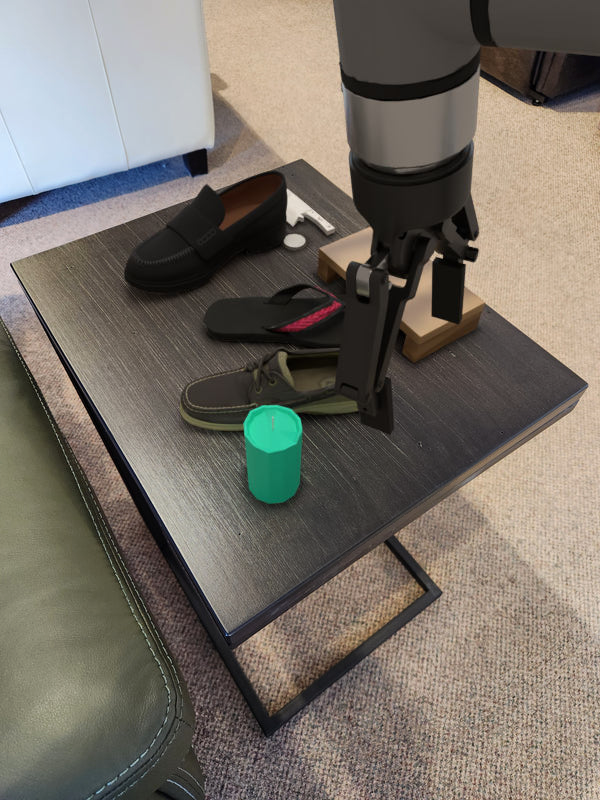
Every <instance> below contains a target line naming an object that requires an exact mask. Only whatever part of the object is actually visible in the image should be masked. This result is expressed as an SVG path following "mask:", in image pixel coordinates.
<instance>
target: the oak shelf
mask: <svg viewBox="0 0 600 800" xmlns="http://www.w3.org/2000/svg"><path fill="white" fill-rule="evenodd" d="M372 235H373V230H372V228H371V226H369V227H366V228H363V229H361V230H359V231H356V232H354V233H351V234H349V235H347V236H345V237H342V238H340V239H338V240H335V241H333V242H330V243H328V244H325V245H324V246H321V247H319V248H318V259H317V276H318V277H319V278H320V279H321V280H322V281H323V282H324V283H326V284H328V283H331V282H332V281H335V280H338V279H339V278H342V279H343V280H344V281H346V270H347V267H348V265H349V263H350V262H351V261H355V262H358V263H362V264H364V263H365V262H366V261H367V260H368V259H369V258H370V257H371V254H370V250H371V244H372ZM432 262H433V260H432V259H431V258H430V259H429V261H428V262H427V263H426V264H425V265H424V268H423V271H422V275H421V278H420V282H419V285H418V289H417V292H416V295H415V297H414V298H413V299H411V300H408V301H407V303H406V306H405V309H404V313H403V317H402V320H401V324H400V327H399V330H401V331H402V332H403V333H404V334H405V339H404V344H403V348H402V351H401V352H402V354H403V355H404V356H405V357H406V358H408V359H409V361H411V362H412V363H413V364H415V363H416V362H418V361H420V360H422V359H424V358H426V357H427V356H429V355H431V354H433V353H435V352H437V351H438V350H440V349H442V348H444V347H446V346H448V345H449V344H450V343H452V342H454V341H456V340H458V339H460V338H462V337H464V336H465V335H467V334H469V333H470V332H472V331H474V330H476V329H477V327H478V325H479V322H480V320H481V317H482V313H483V312H484V311H483V310H484V308H485V305H486V301H485V300H483V299H482V298H481V297H480V296H478V294H475V292H473V291H472V290H471V289H469V288H468V287H467V286H466V285H464V299H463V313H462V320H461V322H460V323H459V325H458V324H455V323H452V322H448V321H445V320H442V319H438V318H435V317H432V316H431V311H432ZM389 281H391V282H392V284H395V285H398V286H402V287H404V286H405V284H406V280H405V279H401V278H397V277H394V276H390V275H389Z"/></svg>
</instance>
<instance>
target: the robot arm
mask: <svg viewBox="0 0 600 800" xmlns="http://www.w3.org/2000/svg"><path fill="white" fill-rule="evenodd" d="M332 6H333V7H332V8H333V14H334V22H335V30H336V31H335V32H336V41H337V47H338V55H339V58H338V59H339V62H338V66H339V72H340V79H341V82H340V90H341V93H342V97H343V109H344V120H345V131H346V140H347V141H346V142H347V144H348V148H349V149H350V150H349V153H348V166H349V177H350V184H351V185H350V186H351V195H352V201H353V204H354V208H355V209H356V210H357V212H358V213H359V214H360V216H361V217H362V218H363V219H364V220H365V222H367V224H368V225H369V227H371V228H372V230H373V235H372V244H371V250H370V254H371V257H370V258H369V259H368V260H367V261H366V262H365V263H364V264H362V263H358V262H355V261H351V262H350V263H349V265H348V267H347V270H346V280H345V287H346V294H347V300H346V307H345V314H344V321H343V328H342V336H341V343H340V350H339V357H338V365H337V372H336V379H335V386H334V393H336V394H338V395H341V396H343V397H345V398H348V399H351V400H353V401H356V403H357V409H358V410H359V411H358V412H359V419H360V423H361V424H362V425H365V426H366V427H369V428H371V429H374V430H376V431H379V432H381V433H384V434H386V435H389V436H391V435H392V433H393V432H394V430H395V417H394V402H393V388H392V387H393V386H392V378H391V377H388V376H387V374H388V369H389V366H390V362H391V360H392V359H391V358H392V355H393V352H394V348H395V346H396V341H397V337H398V334H399V330H400V328H399V327H400V324H401V320H402V317H403V313H404V309H405V306H406V303H407V301H408V300H411V299H413V298H414V297H415V295H416V292H417V289H418V285H419V282H420V278H421V275H422V271H423V268H424V265H425V264H426V263H427V262H428V261H429V259H430V260H431V259H432V256H433V255H434V253H437V254H438V255H442V257H439V256H435V257H434V259H433V260H432V261H433V262H432V311H431V316H432V317H435V318H438V319H442V320H445V321H448V322H452V323H455V324H458V325H459V323H460V322H461V320H462V313H463V299H464V286H466V285H465V283H466V270H467V264H466V263H464V262H470V263H473V264H474V263H475V262H476V261H477V259H478V257H479V253H480V249H479V248H478V247H475V246H471V245H469V243H470V242H476V240H477V239H478V237H479V235H480V225H479V222H478V217H477V213H476V208H475V204H474V200H473V196H472V182H473V170H474V169H473V167H474V153H475V143H474V138H475V136H476V131H477V127H478V126H477V125H478V111H479V109H478V108H479V93H480V92H479V91H480V76H481V58H482V57H481V56H482V47H489V48H503V49H505V48H506V49H507V48H508V49H514V50H515V49H517V50H527V51H528V50H529V51H539V52H549V53H550V52H551V53H560V54H571V55H572V54H573V55H582V56H583V55H585V56H593V57H594V56H595V57H600V0H332ZM389 275H390V276H394V277H397V278H401V279H405V280H406V284H405V286H404V287H402V286H398V285H395V284H392V282H391V281H389Z"/></svg>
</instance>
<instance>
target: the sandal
mask: <svg viewBox="0 0 600 800" xmlns="http://www.w3.org/2000/svg"><path fill="white" fill-rule="evenodd" d="M308 289H312V290H315V291H317V292H318V293H321V294H323V295H324V296H319V297H295V296H296V295H297V294H299V293H300V292H302V291H304V290H308ZM346 300H347V293H344V294H343V293H341V294H334V295H333V293H330V292H329V291H326V290H324V289H322V288H320V287H318V286H316V285H312V284H310V283H305V282H304V283H303V282H302V283H301V282H300V283H296V284H293V285H290V286H287V287H284V288H281V289H279V290H278V291H276V292H275V293H273V294H272V295H271V296H243V297H226V298H220V299H217V300H215V301H213V302H212V303H211V304H210V305H209V306H208V307H207V308H206V311H205V315H204V323H205V327H206V328H205V329H206V331H207V332H208V335H210V336H211V337H212V338H214V339H215V340H220V341H225V342H226V341H227V342H268V343H269V342H270V343H283V344H292V345H299V346H305V347H310V348H314V349H330V348H340V343H341V336H342V328H343V321H344V314H345V307H346Z"/></svg>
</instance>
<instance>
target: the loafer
mask: <svg viewBox="0 0 600 800" xmlns="http://www.w3.org/2000/svg"><path fill="white" fill-rule="evenodd" d="M287 189H288V186H287V181H286V177H285V175H284V173H283V172H282V171H279V170H267V171H263V172H260V173H256V174H253V175H251V176H249V177H246V178H244V179H241V180H239V181H238V182H236V183H234V184H232V185H230V186H228V187H227V188H225V189H224V190H222V191H220V192H218V193H217V192H216V191H215V190H214V189H213V188H212V187H211V186H210V185H209V184H208V183H206V184H204V185H203V186H202V187H201V189H200V190H199V192H198V193H197V195H196V196H195V197H194V199H193V200H192V202H190V204H189V203H187V205H185V207H184V208H182V209H181V211H179V212H178V214H176V215H175V216H174V217H173V218H172V219H170V220H169V221H168V222H167V223H166V224H165V226H164V227H163V228H161V229H160V230H158V231H157V232H155V233H154V234H152V235H151V236H149V237H147V238H145V239H144V240H143V241H141V242H140V243H139V244H137V246H135V247H134V248H133V249H132V251H131V252H130V256H129V257H128V259H127V261H126V264H125V267H124V269H123V276H124V280H125V282H126V283H127V284H128V285H129V286H131V287H132V288H135V289H136V290H139V291H142V292H146V293H149V294H159V295H160V294H162V295H163V294H164V295H165V294H166V295H167V294H176V293H181V292H185V291H190V290H193V289H196V288H198V287H201V286H202V285H205V284H206V283H207V282H209V281H210V280H211V279H212V278H213V277H214V276H215V275H216V274H217V272H218V271H219V270H220V269H221V268H223V267H224V265H225V264H226V263H228V261H230V260H231V259H232V258H233V257H235V256H236V255H237V254H239V253H240V252H242V251H243V250H245V252H246V253H247V254H248V255H253V254H258V253H259V252H262V253H263V252H264V251H268V249H270V248H273V249H274V248H276V247H278V246H280V245H282V243H284V239H285V237H286V235H287V224H288V222H287V216H286V210H287V202H288V197H287Z"/></svg>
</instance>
